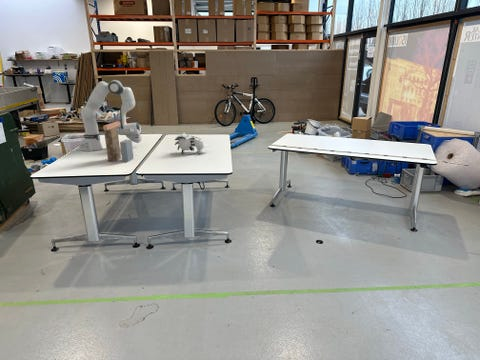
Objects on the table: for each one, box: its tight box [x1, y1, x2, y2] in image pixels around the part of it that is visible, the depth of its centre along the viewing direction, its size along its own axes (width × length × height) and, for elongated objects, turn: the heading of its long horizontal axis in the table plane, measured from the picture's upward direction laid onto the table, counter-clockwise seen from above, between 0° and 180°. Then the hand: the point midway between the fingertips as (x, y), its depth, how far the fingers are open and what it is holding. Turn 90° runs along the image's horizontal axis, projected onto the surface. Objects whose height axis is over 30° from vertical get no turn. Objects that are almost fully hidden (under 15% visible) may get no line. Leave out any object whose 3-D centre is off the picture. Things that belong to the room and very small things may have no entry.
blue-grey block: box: [119, 139, 135, 163], centre depth 268 cm, size 5×10×16 cm, turn 173°
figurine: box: [174, 132, 210, 155], centre depth 292 cm, size 17×16×30 cm
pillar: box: [103, 126, 122, 162], centre depth 268 cm, size 6×10×26 cm, turn 172°
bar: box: [102, 120, 121, 131], centre depth 266 cm, size 3×22×3 cm, turn 172°
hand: (124, 129), depth 286 cm, fingers open, 8 cm apart
